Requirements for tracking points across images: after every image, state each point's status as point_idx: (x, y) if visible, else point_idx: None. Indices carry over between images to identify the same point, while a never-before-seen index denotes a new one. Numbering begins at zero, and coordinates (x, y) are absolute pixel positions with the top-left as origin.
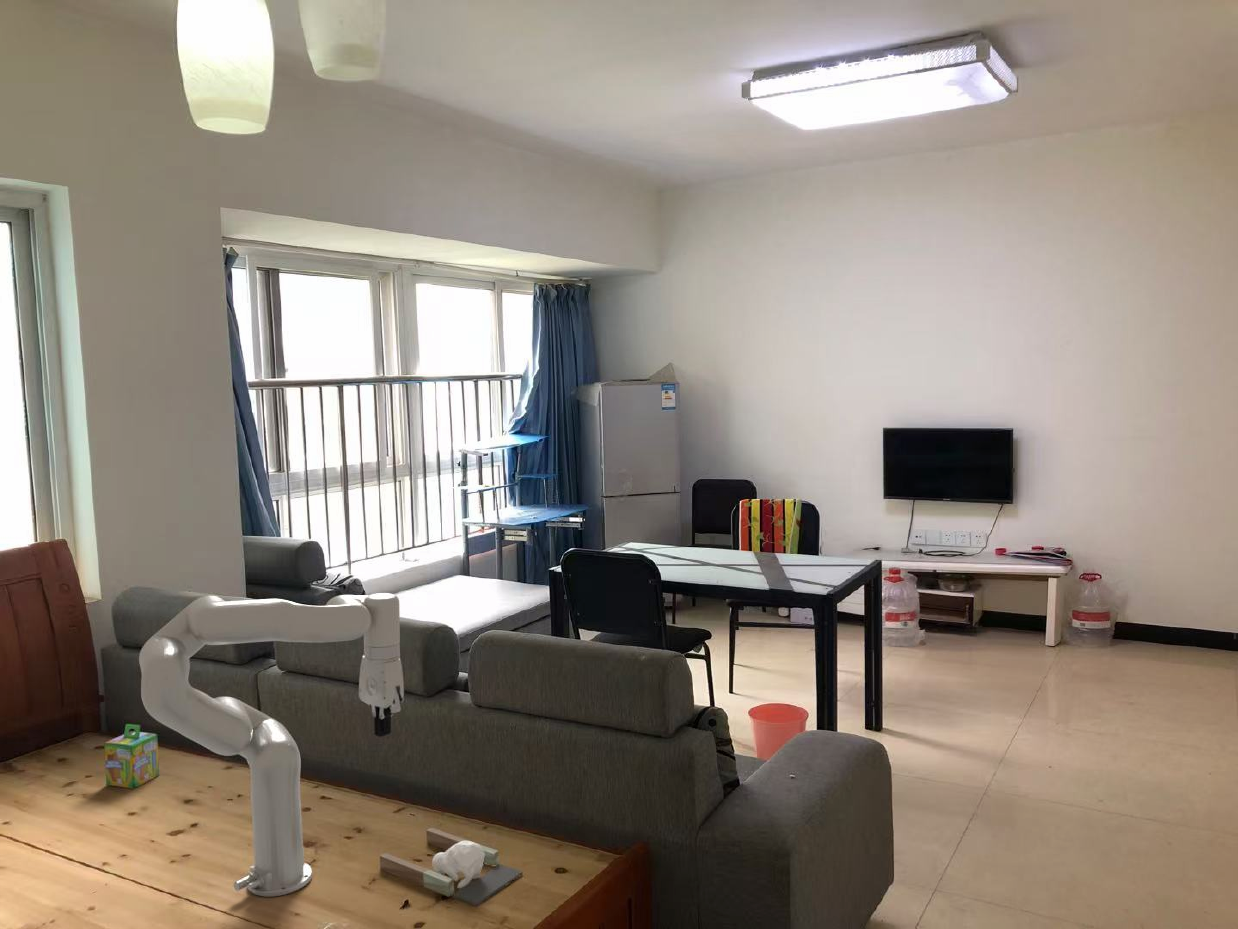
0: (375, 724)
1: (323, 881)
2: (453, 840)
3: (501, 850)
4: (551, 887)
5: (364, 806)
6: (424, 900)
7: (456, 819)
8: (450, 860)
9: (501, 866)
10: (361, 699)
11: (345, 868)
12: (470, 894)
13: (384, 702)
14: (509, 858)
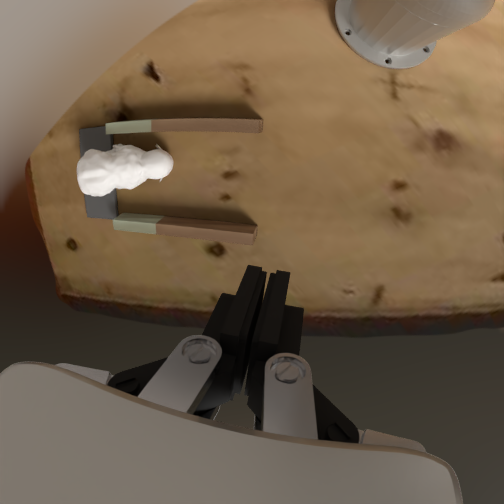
0: (270, 309)
1: (322, 47)
2: (188, 226)
3: (148, 254)
4: (56, 209)
5: (437, 281)
6: (137, 95)
7: None
8: (114, 152)
9: (112, 215)
10: (415, 462)
11: (323, 94)
12: (94, 139)
13: (3, 394)
14: (126, 241)
